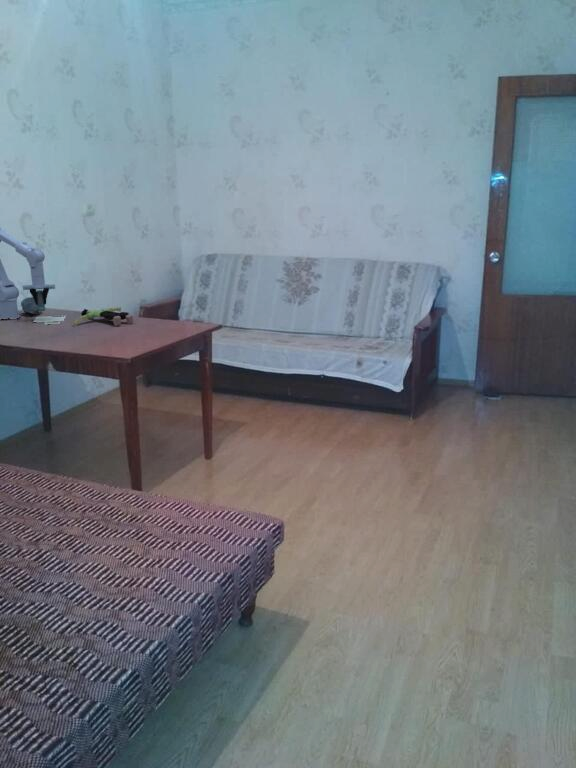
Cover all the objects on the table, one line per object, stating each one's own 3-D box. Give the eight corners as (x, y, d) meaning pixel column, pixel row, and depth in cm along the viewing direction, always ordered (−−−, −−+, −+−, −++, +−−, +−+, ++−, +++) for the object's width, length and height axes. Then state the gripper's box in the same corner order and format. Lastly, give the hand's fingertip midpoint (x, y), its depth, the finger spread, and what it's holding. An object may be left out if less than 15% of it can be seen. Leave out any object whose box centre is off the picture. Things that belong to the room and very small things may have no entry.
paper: (33, 322, 300) (33, 322, 299) (36, 317, 312) (36, 316, 311) (63, 321, 303) (63, 320, 303) (65, 316, 315) (65, 315, 315)
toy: (150, 316, 307) (108, 313, 323) (147, 303, 305) (106, 300, 321) (102, 336, 283) (59, 331, 299) (98, 322, 281) (56, 318, 297)
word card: (43, 324, 295) (43, 324, 295) (45, 322, 299) (44, 321, 299) (59, 324, 297) (59, 323, 296) (60, 322, 301) (60, 321, 301)
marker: (37, 311, 300) (35, 291, 297) (38, 309, 303) (36, 290, 300) (44, 310, 301) (42, 291, 298) (45, 309, 304) (43, 289, 301)
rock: (42, 310, 329) (22, 307, 327) (43, 297, 325) (23, 294, 322) (38, 326, 317) (17, 323, 314) (39, 312, 313) (17, 309, 310)
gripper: (20, 277, 292) (23, 306, 296) (53, 276, 295) (56, 305, 299) (22, 275, 298) (25, 303, 302) (54, 274, 302) (57, 302, 306)
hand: (41, 304), depth 301 cm, fingers closed on marker, 3 cm apart
